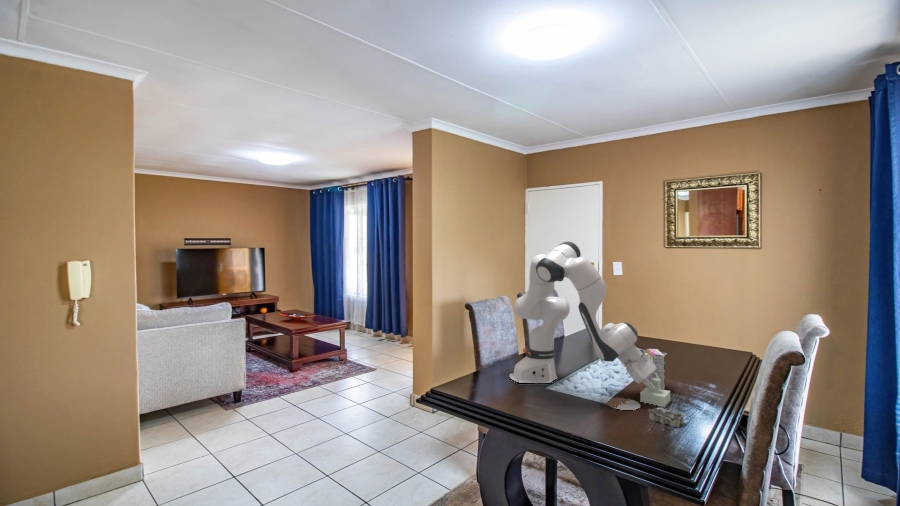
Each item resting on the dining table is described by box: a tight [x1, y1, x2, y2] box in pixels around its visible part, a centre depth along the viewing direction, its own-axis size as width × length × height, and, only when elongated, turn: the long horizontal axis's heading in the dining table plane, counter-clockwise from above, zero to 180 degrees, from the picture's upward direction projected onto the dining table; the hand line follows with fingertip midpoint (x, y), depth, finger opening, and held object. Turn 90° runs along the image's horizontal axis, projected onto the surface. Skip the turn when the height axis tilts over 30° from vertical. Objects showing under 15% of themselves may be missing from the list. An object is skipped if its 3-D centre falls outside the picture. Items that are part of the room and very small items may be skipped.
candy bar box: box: [646, 348, 666, 390], centre depth 191 cm, size 11×5×16 cm, turn 168°
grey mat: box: [602, 396, 641, 411], centre depth 173 cm, size 14×14×1 cm
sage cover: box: [639, 378, 671, 408], centre depth 176 cm, size 9×9×9 cm
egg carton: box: [647, 406, 685, 428], centre depth 156 cm, size 11×8×4 cm
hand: (656, 385), depth 175 cm, fingers open, 8 cm apart
